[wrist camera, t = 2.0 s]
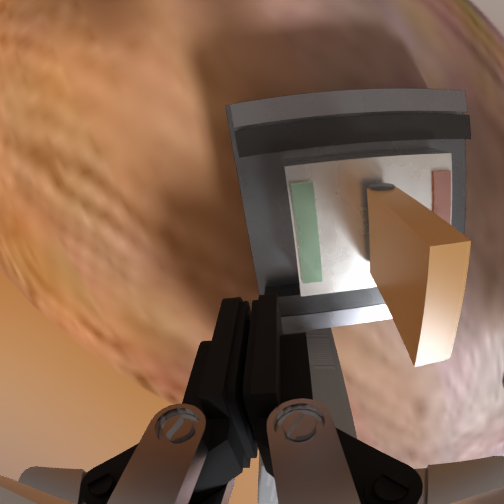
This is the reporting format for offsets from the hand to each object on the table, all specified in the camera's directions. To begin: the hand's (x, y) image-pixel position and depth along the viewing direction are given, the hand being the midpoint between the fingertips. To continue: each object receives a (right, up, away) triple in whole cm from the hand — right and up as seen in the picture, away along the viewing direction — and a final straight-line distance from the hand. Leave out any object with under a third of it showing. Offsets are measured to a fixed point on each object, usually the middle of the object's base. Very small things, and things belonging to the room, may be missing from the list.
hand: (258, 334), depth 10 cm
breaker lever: (+7, +4, +8) cm, 11 cm away
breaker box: (+8, +7, +15) cm, 18 cm away
